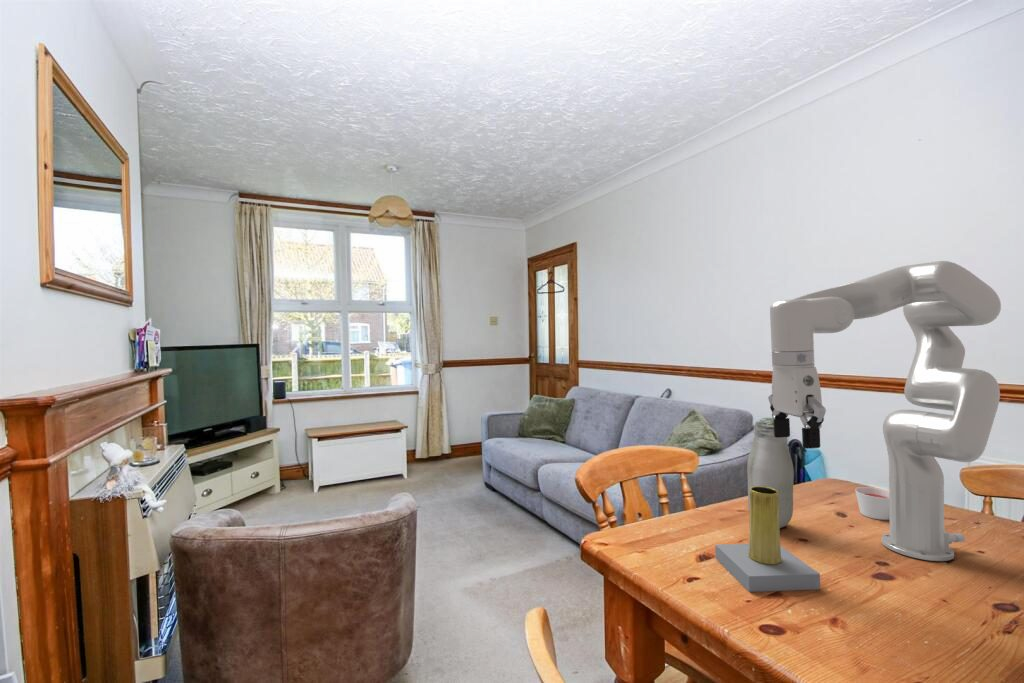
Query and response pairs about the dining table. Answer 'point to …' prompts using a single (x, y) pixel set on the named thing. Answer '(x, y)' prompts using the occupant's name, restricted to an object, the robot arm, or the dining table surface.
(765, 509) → the vase
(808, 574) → the plinth
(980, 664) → the dining table surface
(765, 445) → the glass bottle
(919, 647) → the dining table surface
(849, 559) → the dining table surface
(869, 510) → the candle
